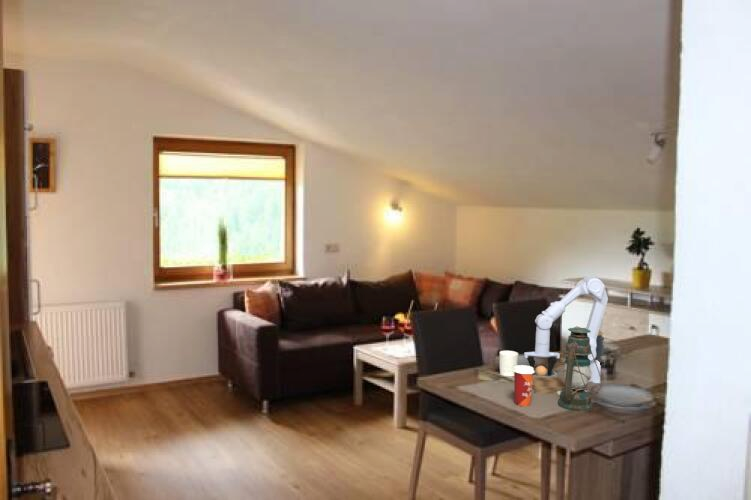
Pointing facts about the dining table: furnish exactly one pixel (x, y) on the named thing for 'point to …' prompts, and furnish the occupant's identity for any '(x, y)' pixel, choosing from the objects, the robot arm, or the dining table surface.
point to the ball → (541, 371)
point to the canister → (599, 345)
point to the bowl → (553, 374)
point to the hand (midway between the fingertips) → (540, 374)
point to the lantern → (577, 372)
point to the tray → (547, 385)
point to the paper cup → (523, 384)
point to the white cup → (508, 362)
